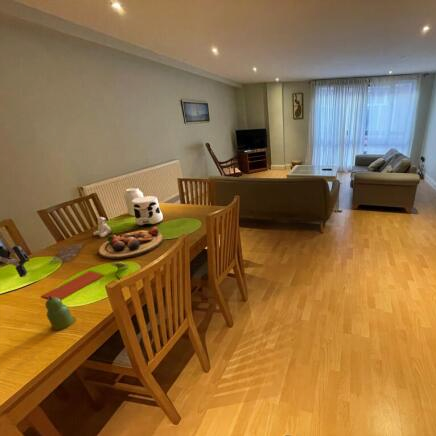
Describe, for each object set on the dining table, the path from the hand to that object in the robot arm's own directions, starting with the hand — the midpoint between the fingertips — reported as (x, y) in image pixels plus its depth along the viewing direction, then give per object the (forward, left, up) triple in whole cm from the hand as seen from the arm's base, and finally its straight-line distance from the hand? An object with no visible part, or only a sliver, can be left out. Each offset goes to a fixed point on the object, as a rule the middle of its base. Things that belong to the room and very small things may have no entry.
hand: (6, 282), depth 79 cm
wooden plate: (+57, +20, -19) cm, 63 cm away
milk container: (+86, +39, -19) cm, 96 cm away
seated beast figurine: (+62, +52, -19) cm, 83 cm away
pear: (+5, -10, -19) cm, 22 cm away
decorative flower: (+35, -2, -19) cm, 40 cm away
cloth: (+21, +11, -19) cm, 30 cm away
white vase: (+97, +64, -19) cm, 118 cm away
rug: (+38, +46, -19) cm, 62 cm away
